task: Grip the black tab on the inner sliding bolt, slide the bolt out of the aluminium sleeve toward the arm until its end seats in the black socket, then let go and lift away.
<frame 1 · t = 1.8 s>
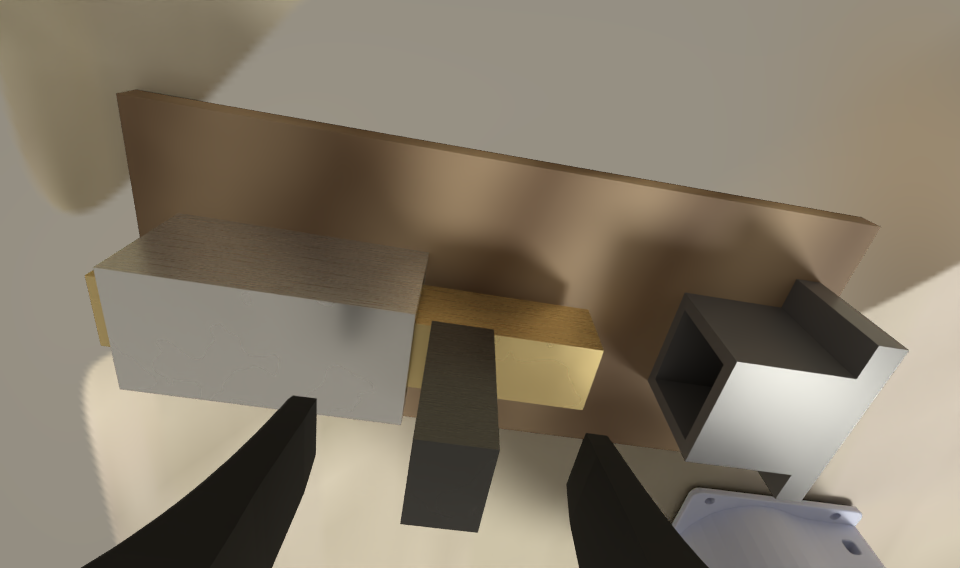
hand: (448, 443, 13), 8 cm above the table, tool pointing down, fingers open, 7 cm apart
inner sliding bolt: (344, 371, 15), point 6 cm above the table, slide at 0.0 cm
base board: (490, 300, 20), on the table
sleeve: (306, 285, 19), resting on base board
socket: (711, 345, 20), resting on base board
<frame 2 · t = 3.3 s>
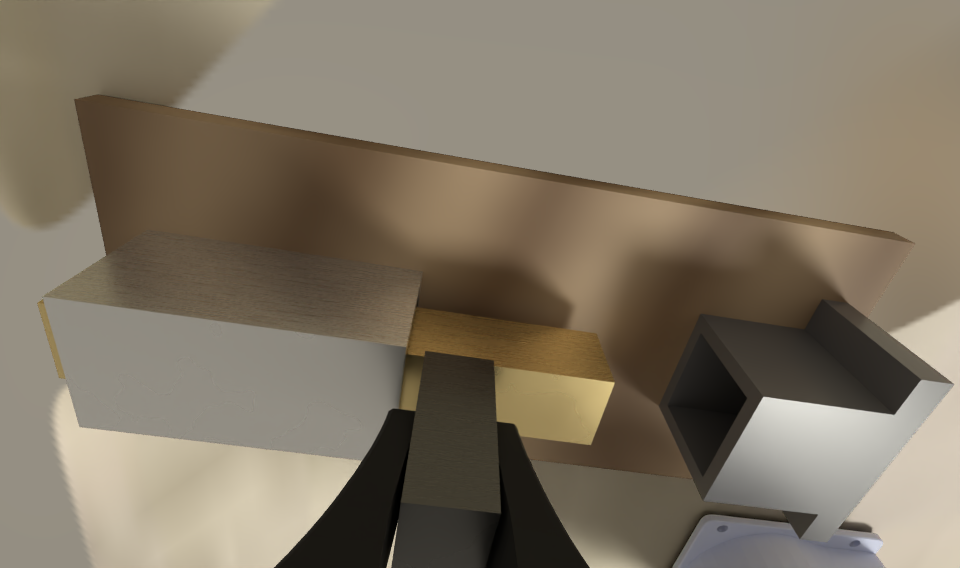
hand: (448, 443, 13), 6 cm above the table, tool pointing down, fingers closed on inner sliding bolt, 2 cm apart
inner sliding bolt: (327, 408, 13), point 6 cm above the table, slide at 0.0 cm, touching gripper
base board: (489, 320, 19), on the table
sleeve: (289, 306, 17), resting on base board
socket: (728, 369, 19), resting on base board
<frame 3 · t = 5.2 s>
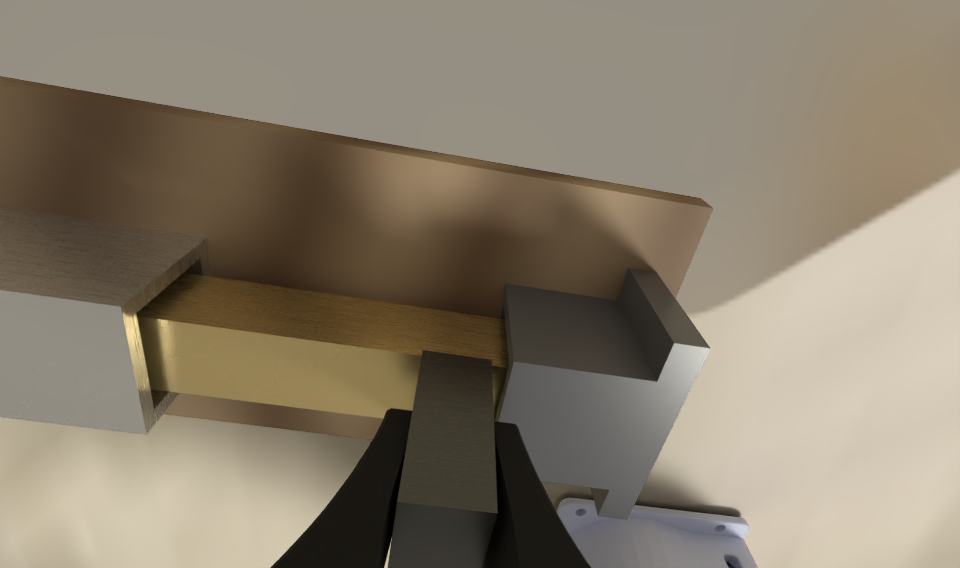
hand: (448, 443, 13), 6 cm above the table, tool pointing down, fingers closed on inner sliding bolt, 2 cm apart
inner sliding bolt: (324, 407, 13), point 6 cm above the table, slide at 7.0 cm, touching gripper
base board: (301, 292, 18), on the table
sleeve: (76, 275, 17), resting on base board
socket: (547, 343, 18), resting on base board
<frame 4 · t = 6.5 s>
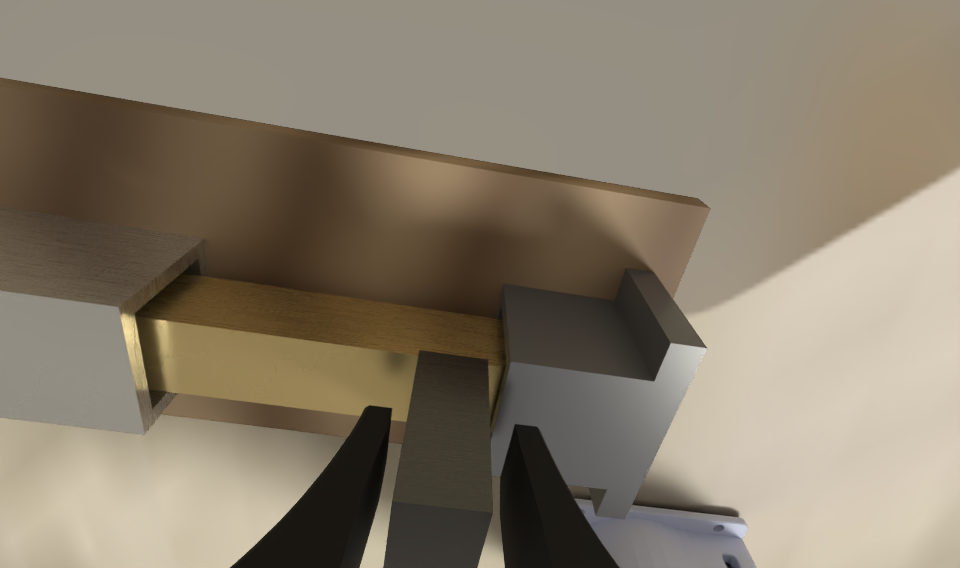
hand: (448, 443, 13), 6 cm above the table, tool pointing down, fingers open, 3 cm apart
inner sliding bolt: (321, 407, 13), point 6 cm above the table, slide at 7.0 cm
base board: (299, 293, 18), on the table
sleeve: (75, 276, 17), resting on base board
socket: (545, 343, 18), resting on base board
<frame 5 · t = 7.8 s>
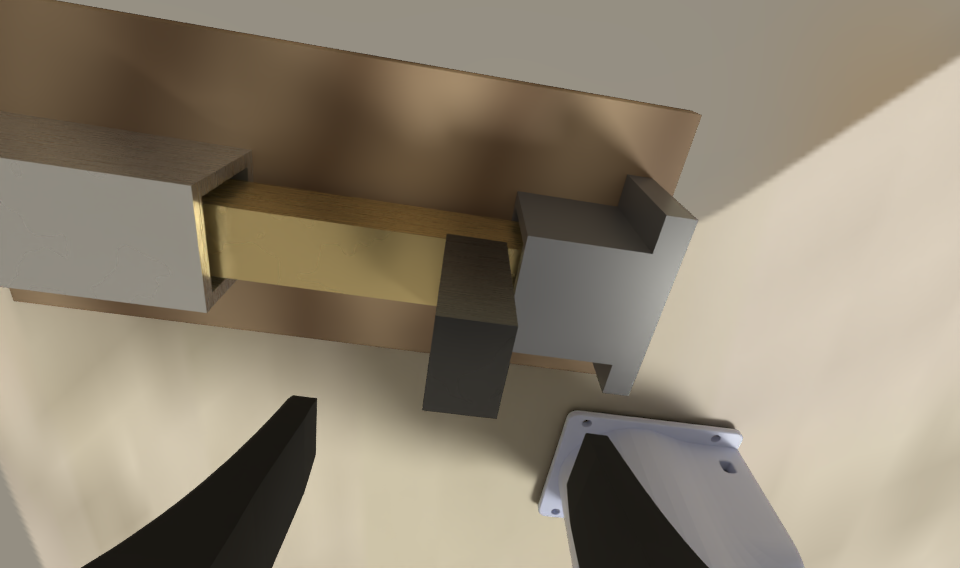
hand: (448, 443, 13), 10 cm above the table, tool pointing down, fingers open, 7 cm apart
inner sliding bolt: (362, 280, 15), point 6 cm above the table, slide at 7.0 cm
base board: (333, 207, 20), on the table
sleeve: (135, 188, 19), resting on base board
socket: (554, 249, 20), resting on base board
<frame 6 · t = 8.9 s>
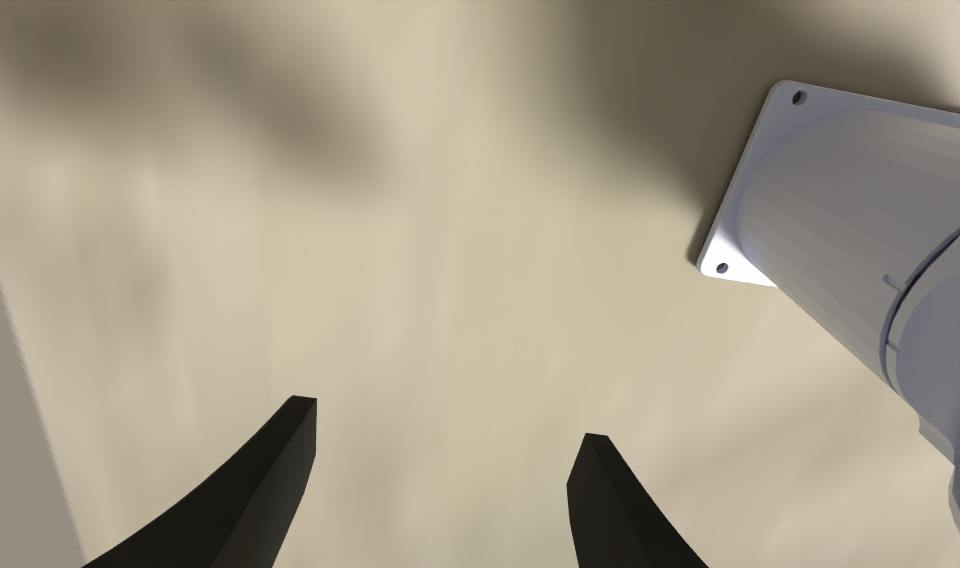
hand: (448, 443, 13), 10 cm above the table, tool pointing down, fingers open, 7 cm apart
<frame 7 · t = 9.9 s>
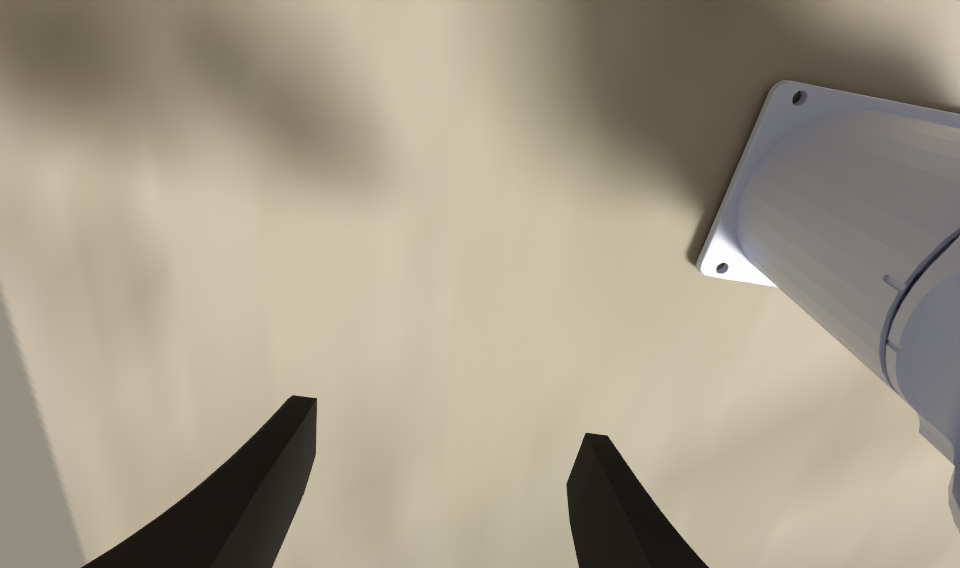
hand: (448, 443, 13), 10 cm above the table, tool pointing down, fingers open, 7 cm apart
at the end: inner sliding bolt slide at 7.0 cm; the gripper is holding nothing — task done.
